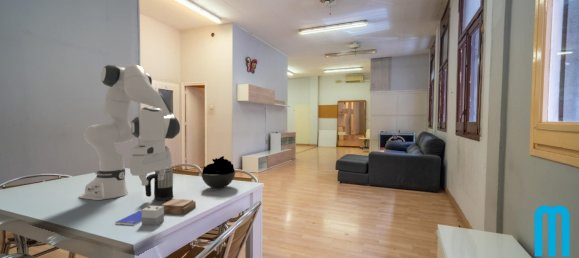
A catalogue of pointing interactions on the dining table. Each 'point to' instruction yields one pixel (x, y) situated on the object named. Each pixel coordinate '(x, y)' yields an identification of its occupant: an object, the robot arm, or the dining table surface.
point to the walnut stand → (178, 206)
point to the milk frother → (161, 186)
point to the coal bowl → (218, 173)
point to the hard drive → (131, 219)
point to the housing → (152, 215)
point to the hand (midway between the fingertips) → (153, 182)
